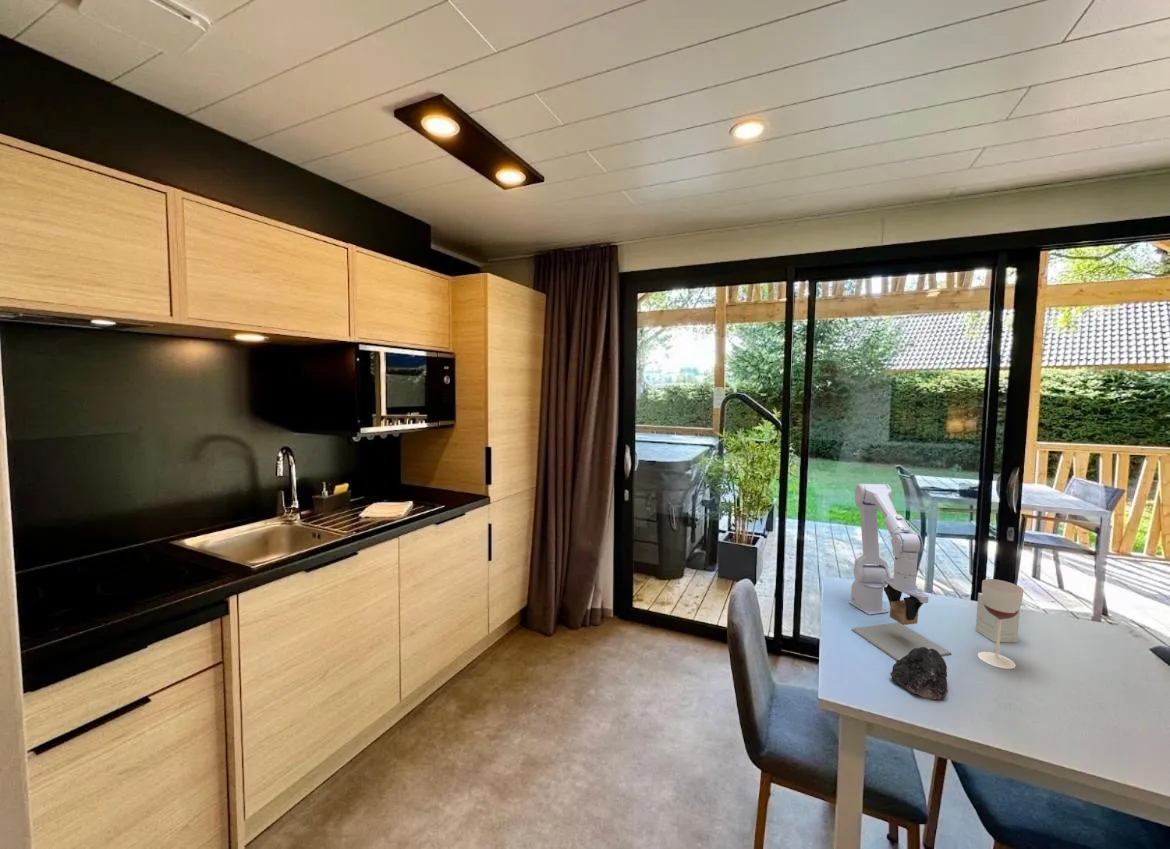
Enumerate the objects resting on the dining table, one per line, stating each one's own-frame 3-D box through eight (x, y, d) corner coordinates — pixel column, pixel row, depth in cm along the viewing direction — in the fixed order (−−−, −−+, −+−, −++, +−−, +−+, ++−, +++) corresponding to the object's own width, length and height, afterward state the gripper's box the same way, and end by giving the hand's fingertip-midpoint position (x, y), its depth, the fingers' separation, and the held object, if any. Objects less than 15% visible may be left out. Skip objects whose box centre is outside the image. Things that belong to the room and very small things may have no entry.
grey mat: (851, 630, 154) (851, 628, 154) (898, 623, 158) (898, 622, 157) (899, 662, 136) (899, 660, 136) (951, 654, 140) (951, 652, 140)
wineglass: (981, 664, 135) (987, 589, 133) (972, 647, 144) (978, 576, 141) (1021, 673, 131) (1028, 596, 129) (1010, 655, 139) (1017, 582, 137)
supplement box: (1018, 642, 146) (1021, 603, 145) (993, 642, 146) (996, 603, 145) (998, 630, 153) (1001, 592, 152) (974, 630, 154) (977, 592, 152)
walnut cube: (889, 617, 148) (890, 601, 148) (903, 615, 150) (904, 599, 149) (903, 625, 144) (904, 609, 143) (917, 623, 145) (918, 607, 144)
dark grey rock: (903, 700, 121) (911, 666, 120) (878, 664, 135) (885, 633, 133) (960, 709, 120) (969, 674, 118) (930, 671, 133) (937, 639, 131)
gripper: (938, 580, 139) (935, 625, 140) (895, 562, 153) (893, 603, 154) (918, 583, 137) (915, 628, 139) (877, 564, 151) (874, 605, 153)
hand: (902, 615), depth 146 cm, fingers closed on walnut cube, 5 cm apart
